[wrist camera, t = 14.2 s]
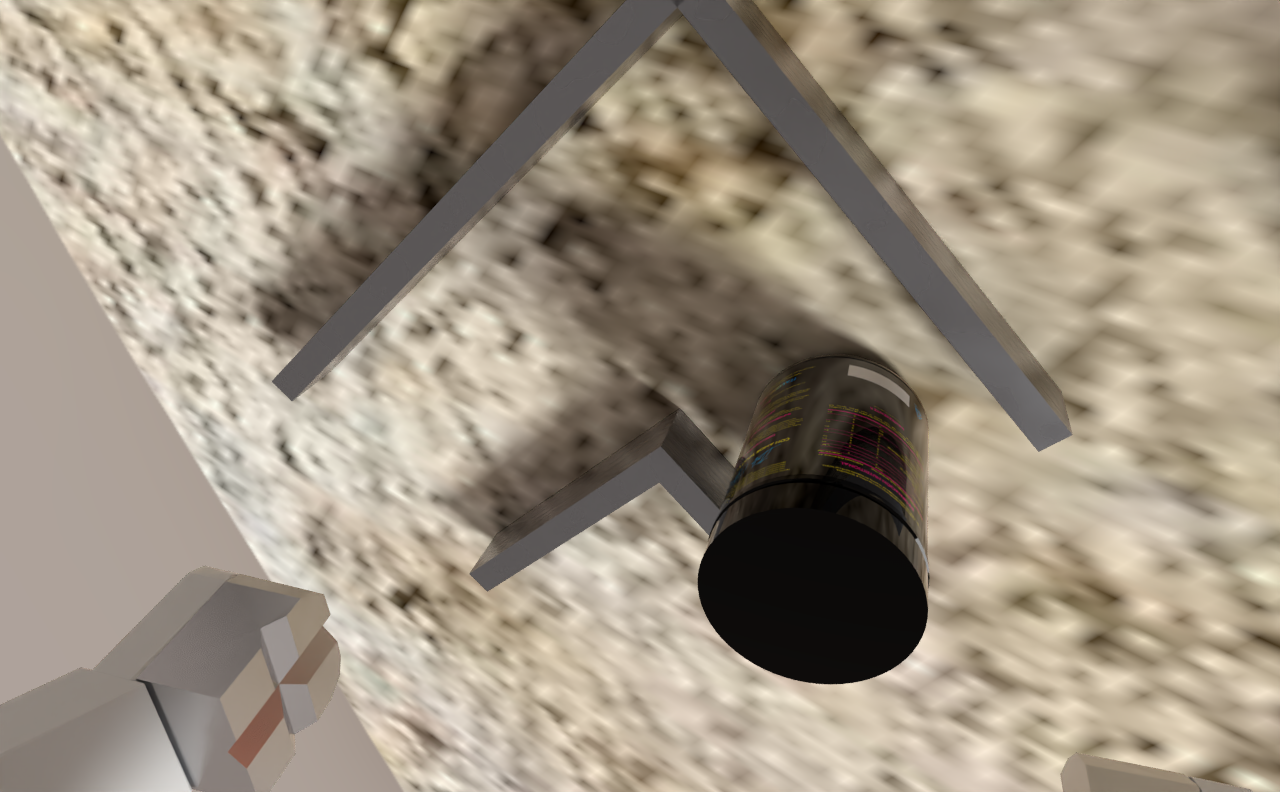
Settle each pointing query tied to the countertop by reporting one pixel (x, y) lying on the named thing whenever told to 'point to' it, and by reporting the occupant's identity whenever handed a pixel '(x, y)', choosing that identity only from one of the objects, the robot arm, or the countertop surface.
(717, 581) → the supplement container
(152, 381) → the countertop surface
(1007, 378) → the metal angle brackets
